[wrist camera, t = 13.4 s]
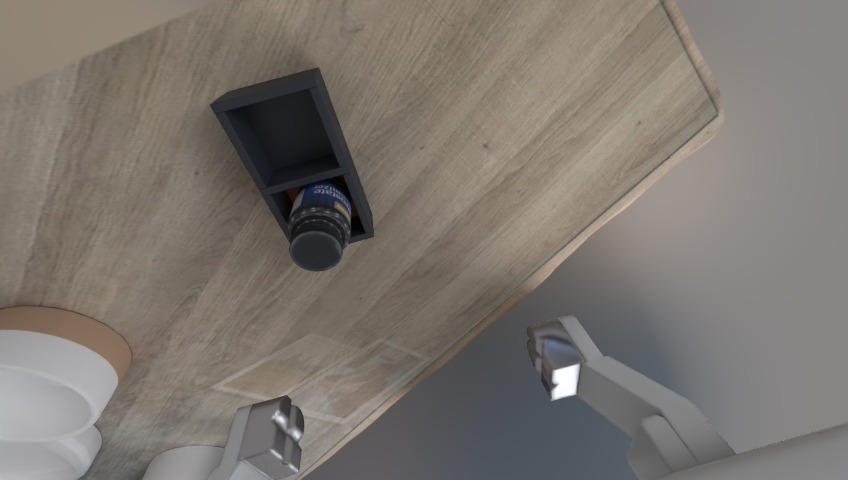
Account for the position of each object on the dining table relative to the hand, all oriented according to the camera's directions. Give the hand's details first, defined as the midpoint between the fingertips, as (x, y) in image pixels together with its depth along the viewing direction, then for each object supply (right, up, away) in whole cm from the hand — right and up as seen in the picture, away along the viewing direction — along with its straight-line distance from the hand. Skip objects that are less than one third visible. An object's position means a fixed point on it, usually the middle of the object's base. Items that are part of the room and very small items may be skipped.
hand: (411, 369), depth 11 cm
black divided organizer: (-12, +13, +26) cm, 32 cm away
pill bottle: (-11, +10, +28) cm, 32 cm away
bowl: (-51, -11, +35) cm, 62 cm away
